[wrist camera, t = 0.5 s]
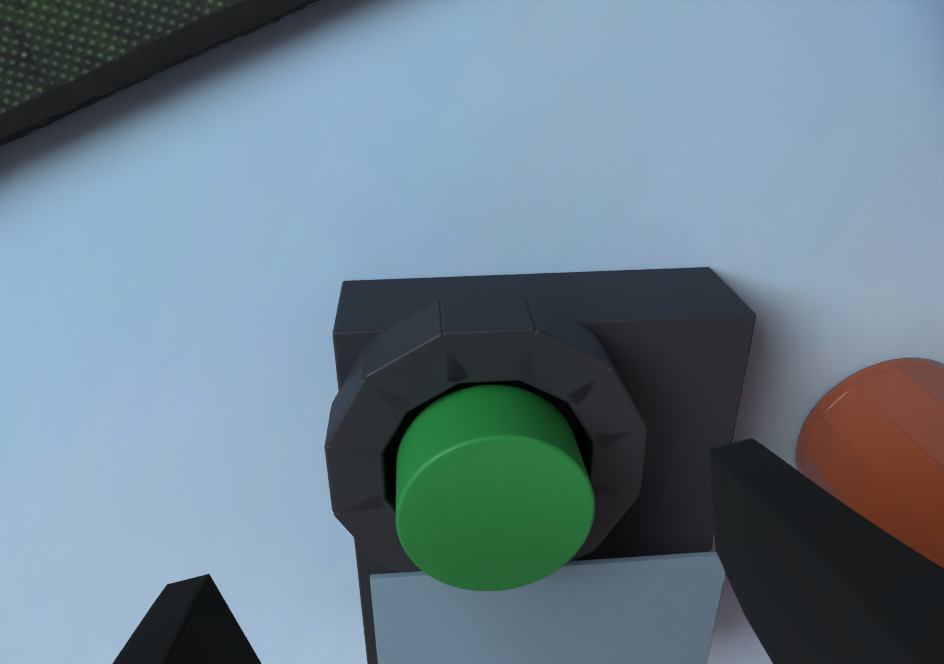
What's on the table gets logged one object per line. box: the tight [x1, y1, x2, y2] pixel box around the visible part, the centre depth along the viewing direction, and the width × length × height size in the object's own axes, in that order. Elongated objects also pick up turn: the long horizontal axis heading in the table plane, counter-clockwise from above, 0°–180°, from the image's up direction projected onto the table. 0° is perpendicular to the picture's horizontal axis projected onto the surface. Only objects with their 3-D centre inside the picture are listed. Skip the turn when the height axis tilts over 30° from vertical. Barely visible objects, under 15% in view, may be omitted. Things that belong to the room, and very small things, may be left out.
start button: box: [396, 385, 595, 591], centre depth 15 cm, size 4×4×2 cm
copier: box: [325, 267, 756, 664], centre depth 19 cm, size 13×10×4 cm
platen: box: [370, 551, 725, 664], centre depth 18 cm, size 6×8×1 cm
